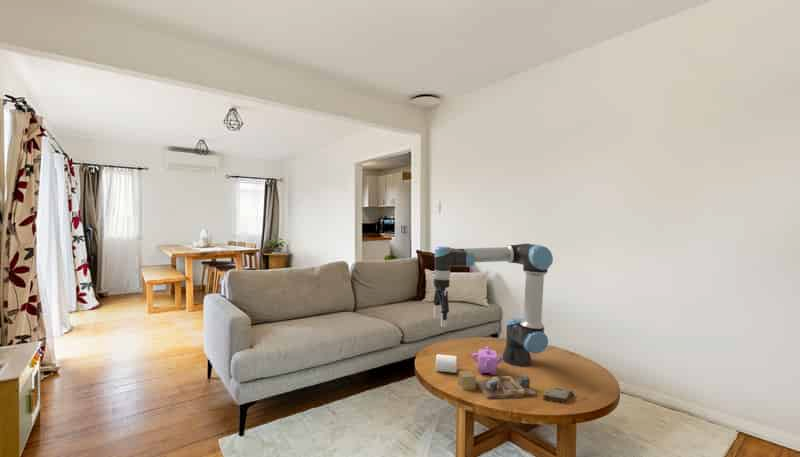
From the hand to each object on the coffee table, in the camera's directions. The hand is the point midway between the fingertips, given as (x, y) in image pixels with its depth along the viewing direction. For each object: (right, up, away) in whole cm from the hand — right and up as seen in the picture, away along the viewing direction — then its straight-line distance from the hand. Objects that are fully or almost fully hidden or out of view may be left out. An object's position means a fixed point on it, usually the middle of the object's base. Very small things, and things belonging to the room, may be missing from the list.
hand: (440, 322), depth 177 cm
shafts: (+29, -26, -13) cm, 41 cm away
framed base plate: (+28, -28, -11) cm, 41 cm away
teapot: (+25, -27, +8) cm, 37 cm away
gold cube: (+11, -27, -10) cm, 31 cm away
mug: (+4, -27, +9) cm, 28 cm away
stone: (+50, -29, -18) cm, 60 cm away
